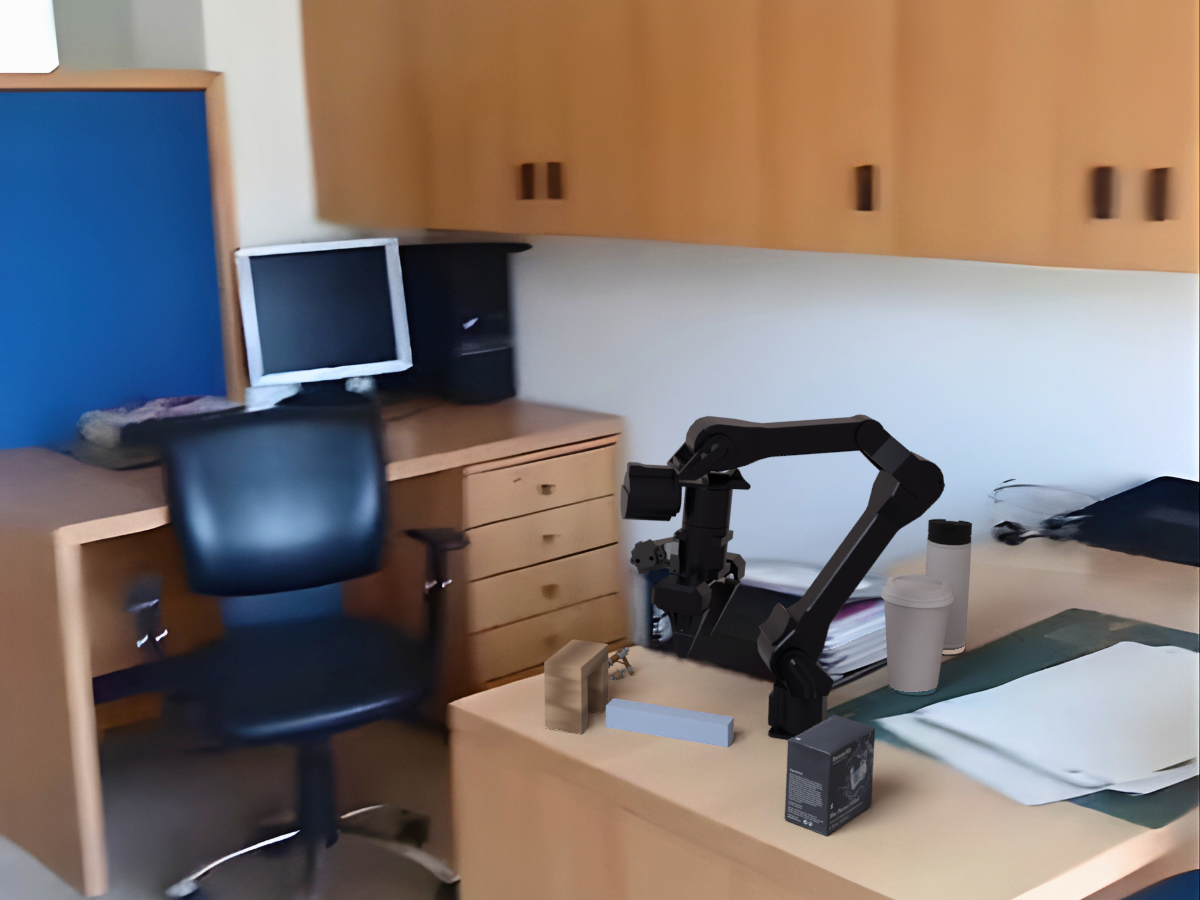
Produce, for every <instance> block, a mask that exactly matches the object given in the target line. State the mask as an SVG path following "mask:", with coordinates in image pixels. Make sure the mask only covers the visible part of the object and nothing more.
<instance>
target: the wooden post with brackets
mask: <svg viewBox="0 0 1200 900" xmlns="http://www.w3.org/2000/svg"><path fill="white" fill-rule="evenodd" d="M616 650H617V651H615V654H613V655H611V656H610V657H608V669H611V667H613V666H614V664H615V663H618V664H622V665H623V666H625V668H624V669H621V670H619V669H618V668H616V671H615V672H613V673H611V676H610V677H609V680H610V681H618V680H619V679H621V678H624V675H623V674H626V672H628V674H629V675H631V676H632V675H634V674H635V672H634V670H633V667H632V665H631V664H630V662H629V661H628V658H627V657H626V656H628V655H629V652H630V648H629V647H621V648H620V647H618V648H617V649H616ZM621 660H622V661H621Z"/></svg>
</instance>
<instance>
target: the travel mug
mask: <svg viewBox="0 0 1200 900" xmlns="http://www.w3.org/2000/svg"><path fill="white" fill-rule="evenodd" d="M927 523H928V524H927V525H928V526H927V533H928V534H927V539H926V542H927V543H926V556H925V557H926V559H925V575H931V576H935V577H938V578H941V579H943V580H945V581H946V582H947V583H948V587H949V589H950V590H951V592H952V594H953V598H954V601H953V602H952V603H951V604H950V605H949V611H948V617H947V624H946V631H945V638H944V645H943V650H955V649H959V648H962V647H964V646H965V645H967V629H968V628H967V627H968V614H969V611H968V610H969V592H970V577H971V558H972V534H973V533H972V530H973V523H972V522H970V521H966V520H958V521H955V520H947V519H946V518H931V519H928V521H927Z"/></svg>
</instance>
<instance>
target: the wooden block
mask: <svg viewBox="0 0 1200 900" xmlns="http://www.w3.org/2000/svg"><path fill="white" fill-rule="evenodd" d="M608 658H609V644H608V643H603V642H596V641H588V640H582V639H581V640H580V639H571V640H570V641H569V642H567V643H566V644H565V645H564V646H563V647H561V648H560V649H559V650H558V651H556V652H555V653H554V654H552V655H551V656H550V657H549V658H547V660H545V661H544V662H543V665H544V666H543V670H544V673H543V674H544V728H545V727H547V728H552V729H551V730H553V729H558V730H557V731H559V730H562V731H561V732H565V731H568V732H567V733H571V732H574V733H573V734H577V733H580V734H579V735H583V733H584V732H585V731H587V730H588V728H589V725H588V723H589V719H588V718H589V716H588V713H589V712H591V713H598V714H604V713H606V705H607V704H608V703H609V668H608ZM547 728H546V729H547ZM563 730H564V731H563Z"/></svg>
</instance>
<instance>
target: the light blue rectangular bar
mask: <svg viewBox="0 0 1200 900" xmlns="http://www.w3.org/2000/svg"><path fill="white" fill-rule="evenodd" d="M605 728H608V729H614V730H619V731H620V730H621V731H627V732H631V733H632V732H633V733H638V734H644V735H650V736H651V735H652V736H655V737H656V736H657V737H662V738H667V739H668V738H669V739H675V740H679V741H686V742H693V743H699V744H703V745H704V744H705V745H710V746H716V747H721V748H722V747H723V748H729V747H730V745H731V744H732V742H733V741H734V739H735V738H734V737H735V734H734V733H735V731H734V730H735V717H734V716H730V715H729V716H728V715H722V714H717V713H711V712H705V711H696V710H692V709H691V710H690V709H685V708H678V707H672V706H667V705H666V706H665V705H660V704H653V703H647V702H639V701H632V700H627V699H622V698H621V699H620V698H614V697H613V698H612V699H611V700H610V701H608V704H607V705H606V711H605Z"/></svg>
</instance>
